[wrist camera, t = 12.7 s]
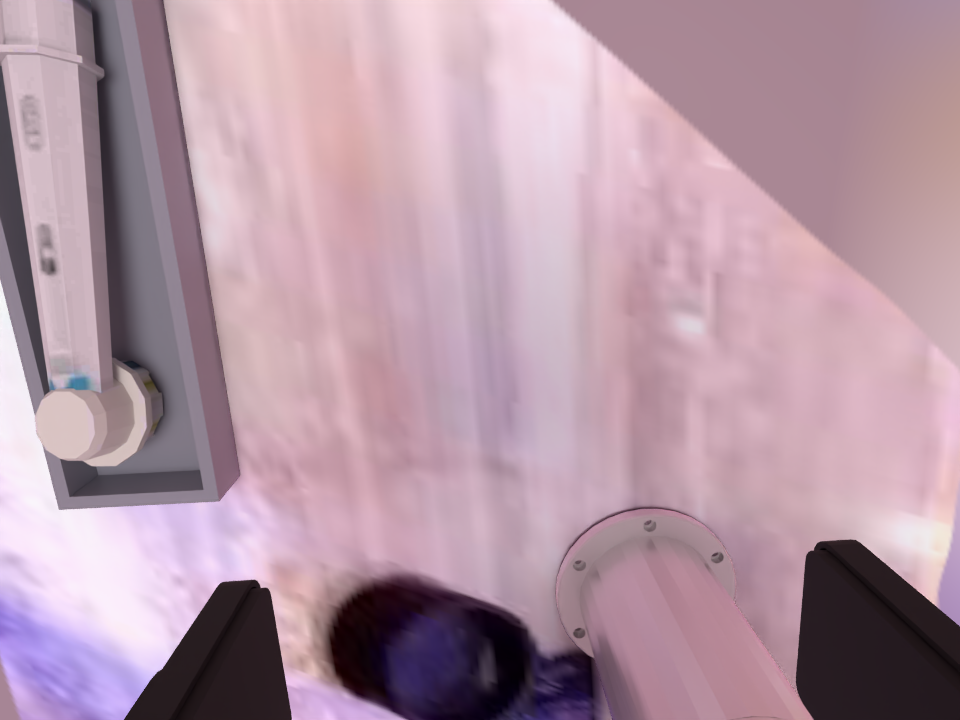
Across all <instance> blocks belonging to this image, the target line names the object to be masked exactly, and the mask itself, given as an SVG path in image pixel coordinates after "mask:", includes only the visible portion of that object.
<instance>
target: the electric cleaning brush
mask: <svg viewBox="0 0 960 720" xmlns="http://www.w3.org/2000/svg"><path fill="white" fill-rule="evenodd" d="M0 66H2V72H3V78H4V85H5V92H6V99H7V106H8V112H9V119H10V126H11V133H12V139H13V146H14V153H15V160H16V166H17V173H18V180H19V187H20V193H21V200H22V207H23V214H24V221H25V227H26V234H27V241H28V248H29V254H30V261H31V268H32V275H33V281H34V288H35V295H36V302H37V309H38V315H39V322H40V329H41V336H42V342H43V349H44V356H45V363H46V369H47V376H48V383H49V390H50V392H48V393H47V394H46V395H45V396H44V398H43V399H42V401H41V403H40V405H39V408H38V410H37V413H36V415H35V422H36V433H37V436H38V437H39V439H40V441H41V443H42V444H43V446H44V448H45V449H46V450H47V451H49V452H50V453H52V454H53V455H55V456H57V457H58V458H60V459H63V460H67V461H84V462H85V463H87V464H89V465H90V466H117V465H119V464H121V463H123V462H124V461H126V460H127V459H128V458H130V457H131V456H133V455H134V454H136V453H137V452H138V451H140V450H141V449H142V448H143V446H144V444H145V442H146V441H147V440H149V439H150V438H152V437H153V436H155V435H154V434H153V433H154V431H155V429H156V427H157V424H158V422H159V420H160V417H161V416H163V401H162V393H159V392H158V390H157V389H156V387H155V385H154V383H153V381H152V380H151V378H150V376H149V374H150V373H151V372H149V371H148V370H146V369H145V368H143V367H142V366H140V365H138V364H137V363H135V362H134V361H119V360H117V359H116V358H112V352H111V334H110V315H109V297H108V279H107V260H106V242H105V224H104V205H103V187H102V169H101V151H100V132H99V114H98V96H97V82H98V81H99V80H100V79H102V78H103V77H104V69H102V68H101V67H99V66H98V65H96V63H95V49H94V36H93V22H92V8H91V0H0Z"/></svg>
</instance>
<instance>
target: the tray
mask: <svg viewBox="0 0 960 720" xmlns="http://www.w3.org/2000/svg"><path fill="white" fill-rule="evenodd" d="M91 8H92V22H93V36H94V49H95V63H96V65H98V66H99V67H101V68H102V69H104V77H103V78H102V79H100V80H99V81H98V82H97V96H98V114H99V132H100V151H101V169H102V187H103V205H104V224H105V242H106V260H107V279H108V297H109V315H110V334H111V352H112V358H116V359H117V360H119V361H134V362H135V363H137V364H138V365H140V366H142V367H143V368H145V369H146V370H148V371H149V372H151V373H150V374H149V376H150V378H151V380H152V381H153V383H154V385H155V387H156V389H157V390H158V392H159V393H162V401H163V416H161V417H160V420H159V422H158V424H157V427H156V429H155V431H154V433H153V434H154V435H155V436H153V437H152V438H150V439H149V440H147V441H146V442H145V444H144V446H143V448H142V449H141V450H140V451H138V452H137V453H136V454H134V455H133V456H131V457H130V458H128V459H127V460H126V461H124V462H123V463H121V464H119V465H117V466H90V465H89V464H87V463H85V462H84V461H67V460H63V459H60V458H58V457H57V456H55V455H53V454H52V453H50V452H49V451H47V450H46V449H45V448H44V446H43V448H44V452H45V456H46V460H47V464H48V468H49V472H50V476H51V480H52V484H53V488H54V492H55V496H56V500H57V503H58V507H59V510H63V509H82V508H101V507H120V506H139V505H158V504H177V503H196V502H215V501H220V500H221V498H222V497H223V496H224V495H225V493H226V492H227V491H228V490H229V489H230V487H231V486H232V485H233V484H234V482H235V481H236V480H237V479H238V477H239V476H240V472H239V466H238V459H237V453H236V447H235V441H234V435H233V429H232V422H231V416H230V410H229V404H228V398H227V392H226V386H225V379H224V373H223V367H222V361H221V355H220V349H219V342H218V336H217V330H216V324H215V318H214V312H213V306H212V299H211V293H210V287H209V281H208V275H207V269H206V262H205V256H204V250H203V244H202V238H201V232H200V226H199V219H198V213H197V207H196V201H195V195H194V189H193V182H192V176H191V170H190V164H189V158H188V152H187V146H186V139H185V133H184V127H183V121H182V115H181V109H180V102H179V96H178V90H177V84H176V78H175V72H174V65H173V59H172V53H171V47H170V41H169V35H168V29H167V22H166V16H165V10H164V4H163V0H91ZM0 280H1V284H2V287H3V291H4V295H5V299H6V303H7V307H8V311H9V315H10V319H11V323H12V327H13V331H14V335H15V339H16V342H17V346H18V350H19V354H20V358H21V362H22V366H23V370H24V374H25V378H26V382H27V386H28V390H29V394H30V397H31V401H32V405H33V409H34V413H35V415H36V413H37V410H38V408H39V405H40V403H41V401H42V399H43V398H44V396H45V395H46V394H47V393H48V392H50V390H49V383H48V376H47V369H46V363H45V356H44V349H43V342H42V336H41V329H40V322H39V315H38V309H37V302H36V295H35V288H34V281H33V275H32V268H31V261H30V254H29V248H28V241H27V234H26V227H25V221H24V214H23V207H22V200H21V193H20V187H19V180H18V173H17V166H16V160H15V153H14V146H13V139H12V133H11V126H10V119H9V112H8V106H7V99H6V92H5V85H4V78H3V72H2V66H0ZM42 445H43V444H42Z"/></svg>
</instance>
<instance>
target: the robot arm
mask: <svg viewBox="0 0 960 720" xmlns="http://www.w3.org/2000/svg"><path fill="white" fill-rule="evenodd" d="M735 593H736V575H735V571H734V567H733V563H732V560H731V559H730V557H729V555H728V553H727V551H726V549H725V547H724V546H723V545H722V543H721V542H720V541H719V539H718V538H717V537H716V536H715V535H714V534H713V533H712V532H711V531H710V530H709V529H708V528H707V527H706V526H705V525H703V524H702V523H700V522H698V521H697V520H695V519H693V518H692V517H689V516H687V515H684V514H681V513H679V512H676V511H670V510H664V509H639V510H633V511H628V512H623V513H621V514H618V515H615V516H612V517H610V518H607V519H606V520H604V521H602V522H600V523H599V524H597V525H595V526H593V527H592V528H591V529H590V530H588V531H587V532H586V533H585V534H584V535H582V536H581V537H580V538H579V539H578V540H577V542H576V543H575V544H574V545H573V546H572V547H571V549H570V550H569V552H568V553H567V555H566V557H565V559H564V560H563V562H562V564H561V567H560V570H559V573H558V577H557V583H556V601H557V608H558V612H559V615H560V619H561V622H562V625H563V627H564V629H565V631H566V633H567V635H568V636H569V637H570V638H571V640H572V641H573V642H574V643H575V645H576V646H577V647H578V648H580V649H581V650H582V651H583V652H585V653H586V654H587V655H588V656H590V657H592V658H594V659H595V661H596V665H597V668H598V672H599V675H600V678H601V682H602V685H603V689H604V692H605V696H606V699H607V702H608V706H609V709H610V713H611V716H612V720H960V626H959V625H957V624H956V623H955V622H954V621H953V620H951V619H950V618H949V617H948V616H946V614H944V613H943V612H942V611H941V610H940V609H938V608H937V607H936V606H935V605H934V604H932V603H931V602H930V601H929V600H928V599H926V598H925V597H924V596H923V595H922V594H921V593H919V592H918V591H917V590H916V589H915V588H913V587H912V586H911V585H910V584H909V583H907V582H906V581H905V580H904V579H903V578H901V577H900V576H899V575H898V574H897V573H896V572H894V571H893V570H892V569H891V568H890V567H888V566H887V565H886V564H885V563H884V562H882V561H881V560H880V559H879V558H878V557H876V556H875V555H874V554H873V553H872V552H871V551H869V550H868V549H867V548H866V547H865V546H863V545H862V544H861V543H860V542H858V541H856V540H836V541H822V542H819V543H817V544H816V546H815V548H814V551H810V552H808V554H807V555H806V561H805V573H804V586H803V598H802V610H801V623H800V635H799V647H798V659H797V672H796V686H797V690H798V694H799V696H798V695H797V693H796V692H795V690H794V689H793V687H792V686H791V685H790V683H789V682H788V680H787V679H786V677H785V676H784V674H783V673H782V671H781V670H780V668H779V667H778V666H777V664H776V663H775V661H774V660H773V658H772V657H771V655H770V654H769V652H768V651H767V650H766V648H765V647H764V645H763V644H762V642H761V641H760V639H759V638H758V636H757V635H756V633H755V632H754V631H753V629H752V628H751V626H750V625H749V623H748V622H747V620H746V619H745V617H744V616H743V614H742V613H741V612H740V610H739V609H738V607H737V606H736V604H735V603H734V598H735ZM799 697H800V698H799ZM124 720H292V717H291V709H290V704H289V698H288V692H287V686H286V680H285V674H284V669H283V663H282V657H281V651H280V645H279V639H278V634H277V628H276V622H275V616H274V610H273V604H272V599H271V594H270V591H269V589H268V588H260V585H259V583H258V581H256V580H244V581H229V582H222V583H220V584H219V586H218V587H217V588H216V590H215V591H214V593H213V594H212V596H211V597H210V599H209V600H208V602H207V603H206V605H205V606H204V608H203V609H202V611H201V612H200V614H199V615H198V617H197V618H196V620H195V621H194V622H193V624H192V625H191V627H190V628H189V630H188V631H187V633H186V634H185V636H184V637H183V639H182V640H181V642H180V643H179V645H178V646H177V648H176V649H175V651H174V652H173V654H172V655H171V657H170V658H169V660H168V661H167V663H166V664H165V666H164V667H163V669H162V670H160V671H159V672H157V673H156V674H155V676H154V677H153V678H152V679H151V680H150V682H149V683H148V685H147V686H146V688H145V689H144V691H143V692H142V694H141V695H140V696H139V698H138V699H137V701H136V702H135V704H134V705H133V707H132V708H131V710H130V711H129V713H128V714H127V716H126V717H125V719H124Z"/></svg>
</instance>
